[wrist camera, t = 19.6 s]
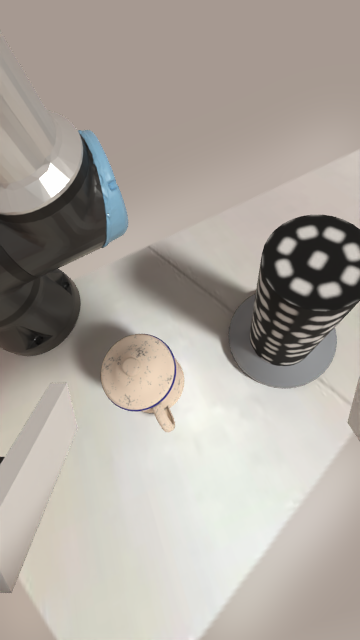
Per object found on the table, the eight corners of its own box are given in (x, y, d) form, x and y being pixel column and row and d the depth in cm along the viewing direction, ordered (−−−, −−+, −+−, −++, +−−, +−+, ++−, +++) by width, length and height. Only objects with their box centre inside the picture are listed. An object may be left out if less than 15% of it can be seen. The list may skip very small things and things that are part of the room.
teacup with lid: (114, 369, 46) (78, 349, 35) (168, 339, 46) (149, 311, 35) (148, 447, 42) (118, 453, 31) (208, 414, 42) (199, 408, 31)
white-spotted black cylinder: (269, 297, 44) (294, 199, 26) (325, 326, 42) (397, 241, 23) (238, 345, 43) (241, 277, 24) (294, 378, 40) (345, 332, 22)
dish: (217, 371, 44) (216, 369, 42) (243, 283, 47) (243, 278, 46) (322, 403, 40) (325, 402, 39) (341, 305, 44) (345, 301, 42)
